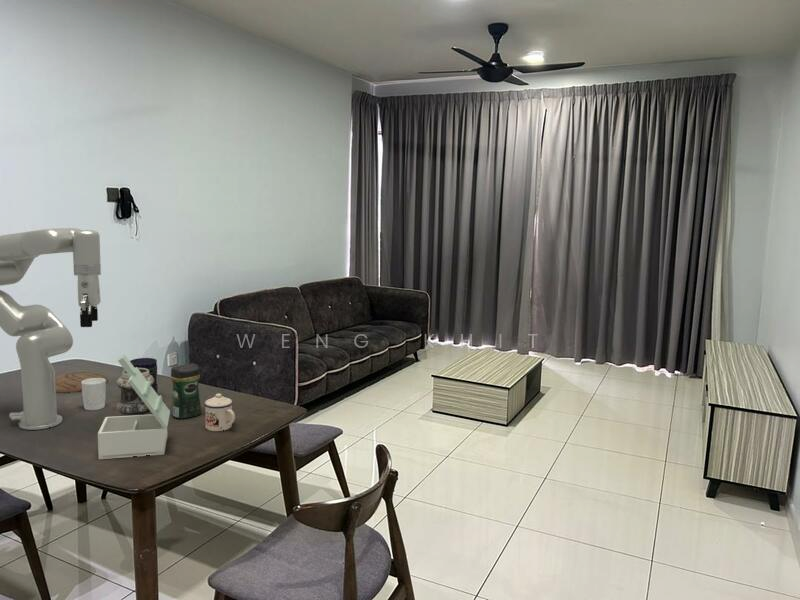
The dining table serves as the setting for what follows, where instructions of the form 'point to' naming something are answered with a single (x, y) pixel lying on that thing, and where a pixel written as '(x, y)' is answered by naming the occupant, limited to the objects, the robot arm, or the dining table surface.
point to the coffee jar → (185, 391)
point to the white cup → (94, 393)
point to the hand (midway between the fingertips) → (89, 323)
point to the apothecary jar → (132, 395)
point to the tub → (131, 437)
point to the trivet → (74, 381)
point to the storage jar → (148, 364)
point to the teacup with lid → (218, 413)
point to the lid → (146, 392)
